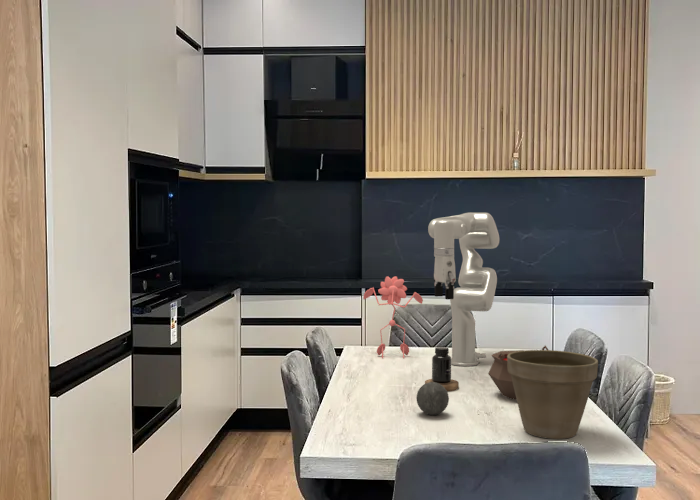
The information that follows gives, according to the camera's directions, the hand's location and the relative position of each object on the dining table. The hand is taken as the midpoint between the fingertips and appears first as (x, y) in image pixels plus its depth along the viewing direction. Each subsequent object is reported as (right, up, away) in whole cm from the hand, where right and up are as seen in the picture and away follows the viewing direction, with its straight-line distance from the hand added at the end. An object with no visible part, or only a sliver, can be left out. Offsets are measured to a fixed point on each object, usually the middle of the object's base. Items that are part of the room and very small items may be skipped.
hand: (444, 297), depth 278 cm
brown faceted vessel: (+24, -32, -28) cm, 49 cm away
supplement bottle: (-3, -29, -16) cm, 33 cm away
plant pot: (+22, -34, -69) cm, 80 cm away
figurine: (-17, -28, +43) cm, 55 cm away
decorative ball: (-10, -33, -51) cm, 61 cm away
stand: (-3, -31, -16) cm, 35 cm away
